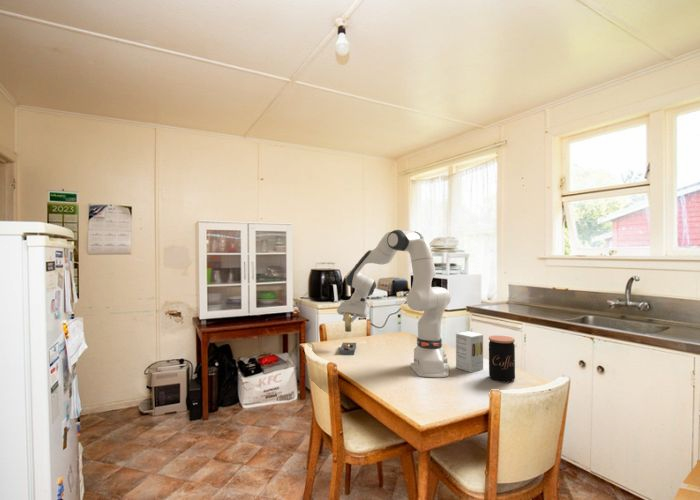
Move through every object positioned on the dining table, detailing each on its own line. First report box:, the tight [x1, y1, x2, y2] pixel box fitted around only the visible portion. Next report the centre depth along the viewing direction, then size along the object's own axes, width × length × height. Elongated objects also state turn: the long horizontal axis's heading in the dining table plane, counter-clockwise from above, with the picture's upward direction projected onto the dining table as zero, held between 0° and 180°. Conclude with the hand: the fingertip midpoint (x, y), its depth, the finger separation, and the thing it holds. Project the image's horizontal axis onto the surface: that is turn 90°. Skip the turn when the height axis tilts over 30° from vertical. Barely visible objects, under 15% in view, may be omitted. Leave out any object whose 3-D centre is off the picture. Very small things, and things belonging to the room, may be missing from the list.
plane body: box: [339, 342, 357, 356], centre depth 203 cm, size 16×8×5 cm, turn 174°
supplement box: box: [455, 330, 484, 373], centre depth 171 cm, size 10×9×17 cm
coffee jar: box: [488, 335, 516, 383], centre depth 157 cm, size 11×11×18 cm
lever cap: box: [344, 313, 352, 333], centre depth 203 cm, size 4×4×10 cm
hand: (347, 321), depth 202 cm, fingers closed on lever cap, 4 cm apart
